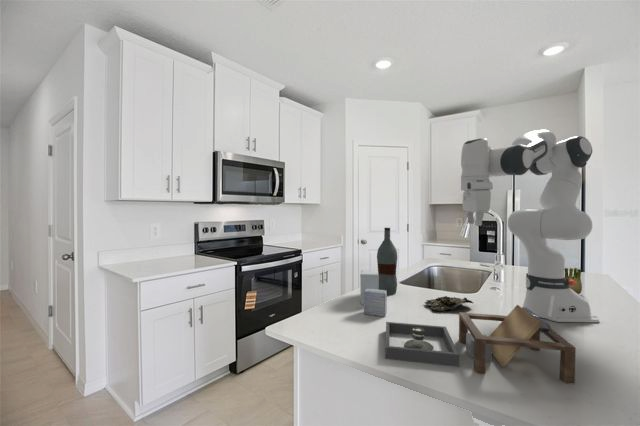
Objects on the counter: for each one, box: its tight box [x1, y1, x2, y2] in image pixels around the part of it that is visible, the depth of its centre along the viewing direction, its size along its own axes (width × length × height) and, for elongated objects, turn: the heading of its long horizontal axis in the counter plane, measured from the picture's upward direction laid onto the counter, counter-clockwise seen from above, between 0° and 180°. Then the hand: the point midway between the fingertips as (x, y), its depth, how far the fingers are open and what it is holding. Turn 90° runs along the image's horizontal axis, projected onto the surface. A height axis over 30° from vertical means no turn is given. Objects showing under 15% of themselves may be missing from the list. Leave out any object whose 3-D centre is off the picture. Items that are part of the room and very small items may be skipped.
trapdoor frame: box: [458, 312, 577, 384], centre depth 80 cm, size 21×18×8 cm
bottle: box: [376, 227, 398, 296], centre depth 141 cm, size 9×9×30 cm
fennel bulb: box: [564, 267, 583, 295], centre depth 139 cm, size 6×5×12 cm
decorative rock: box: [424, 295, 474, 312], centre depth 122 cm, size 19×6×15 cm
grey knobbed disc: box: [404, 327, 434, 350], centre depth 87 cm, size 12×12×5 cm
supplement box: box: [359, 270, 379, 305], centre depth 127 cm, size 7×7×13 cm
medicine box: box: [363, 289, 388, 317], centre depth 113 cm, size 8×4×9 cm, turn 71°
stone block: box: [465, 332, 493, 362], centre depth 82 cm, size 5×5×5 cm
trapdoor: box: [488, 304, 551, 368], centre depth 80 cm, size 15×13×3 cm
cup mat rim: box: [385, 321, 460, 367], centre depth 87 cm, size 18×18×3 cm
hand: (474, 224), depth 107 cm, fingers open, 8 cm apart
